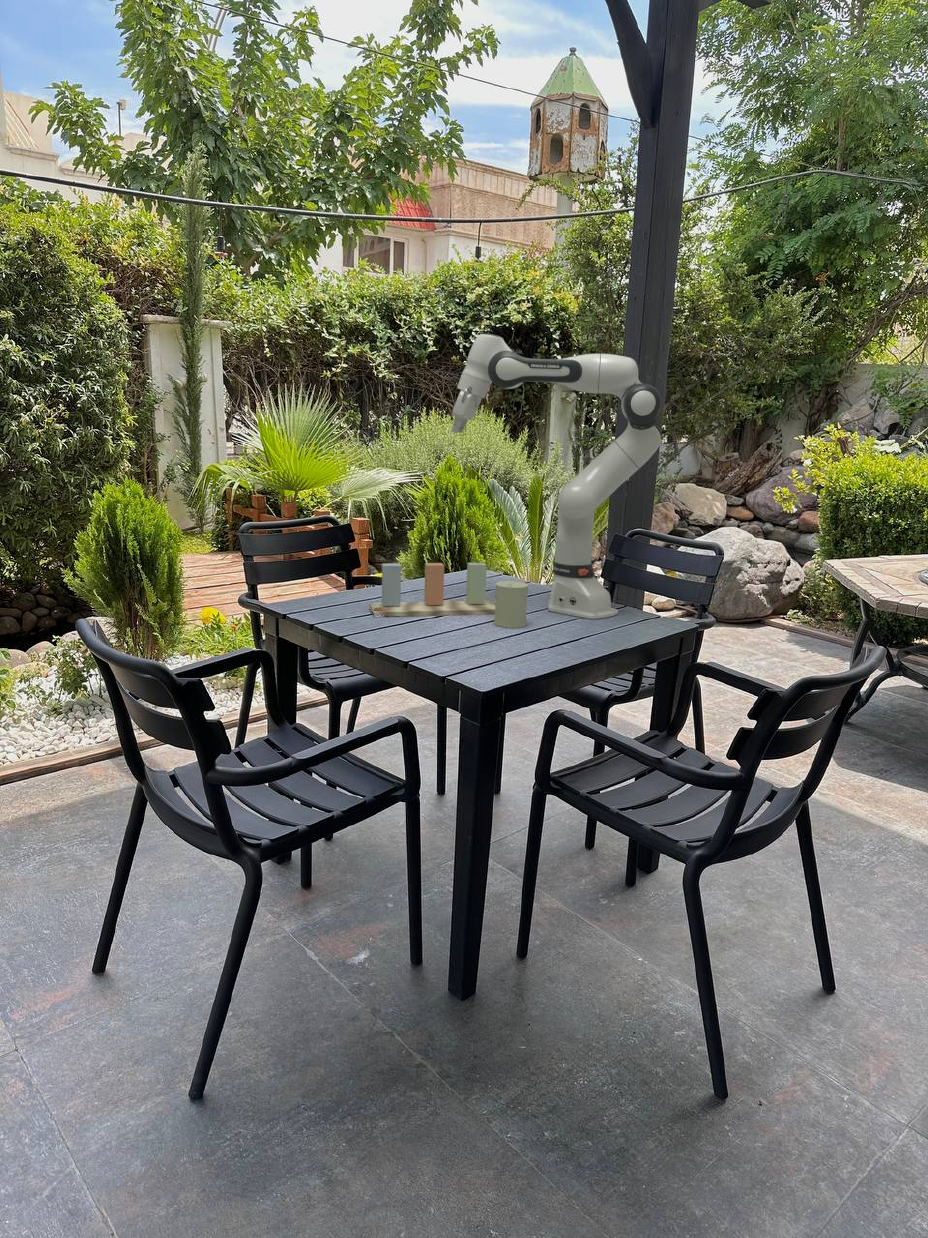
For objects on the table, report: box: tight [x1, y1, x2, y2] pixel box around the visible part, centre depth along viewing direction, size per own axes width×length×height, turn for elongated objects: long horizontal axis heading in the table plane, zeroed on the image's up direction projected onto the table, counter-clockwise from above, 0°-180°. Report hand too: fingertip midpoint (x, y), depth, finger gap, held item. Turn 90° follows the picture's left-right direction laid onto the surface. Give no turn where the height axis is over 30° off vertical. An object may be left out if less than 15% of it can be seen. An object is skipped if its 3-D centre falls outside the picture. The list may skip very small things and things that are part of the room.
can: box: [493, 580, 529, 629], centre depth 224 cm, size 9×9×12 cm
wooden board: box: [369, 599, 496, 617], centre depth 237 cm, size 38×12×2 cm, turn 103°
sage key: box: [465, 562, 488, 604], centre depth 241 cm, size 5×4×12 cm
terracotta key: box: [423, 562, 445, 605], centre depth 238 cm, size 5×4×12 cm
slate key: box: [381, 562, 402, 606], centre depth 235 cm, size 5×4×12 cm
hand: (456, 432), depth 240 cm, fingers open, 8 cm apart
